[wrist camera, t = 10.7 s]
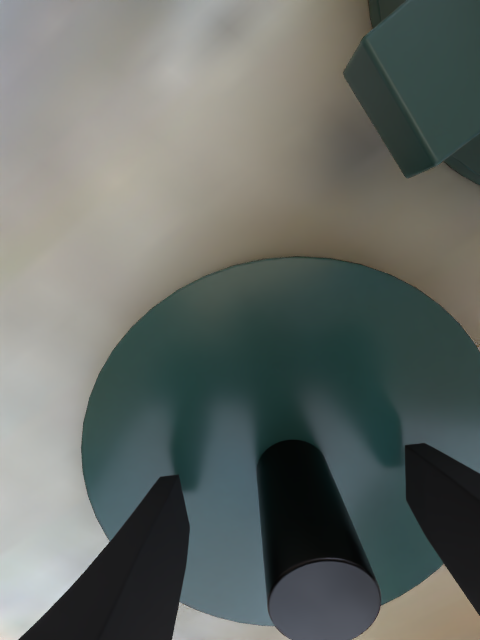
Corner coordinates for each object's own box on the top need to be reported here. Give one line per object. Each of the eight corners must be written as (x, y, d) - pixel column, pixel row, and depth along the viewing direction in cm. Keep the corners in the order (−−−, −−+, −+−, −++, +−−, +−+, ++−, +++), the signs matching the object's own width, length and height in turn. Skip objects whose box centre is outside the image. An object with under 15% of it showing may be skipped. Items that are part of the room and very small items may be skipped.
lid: (543, 476, 12) (774, 645, 7) (251, 645, 13) (259, 878, 8) (337, 159, 9) (458, 44, 4) (14, 420, 11) (-173, 561, 6)
